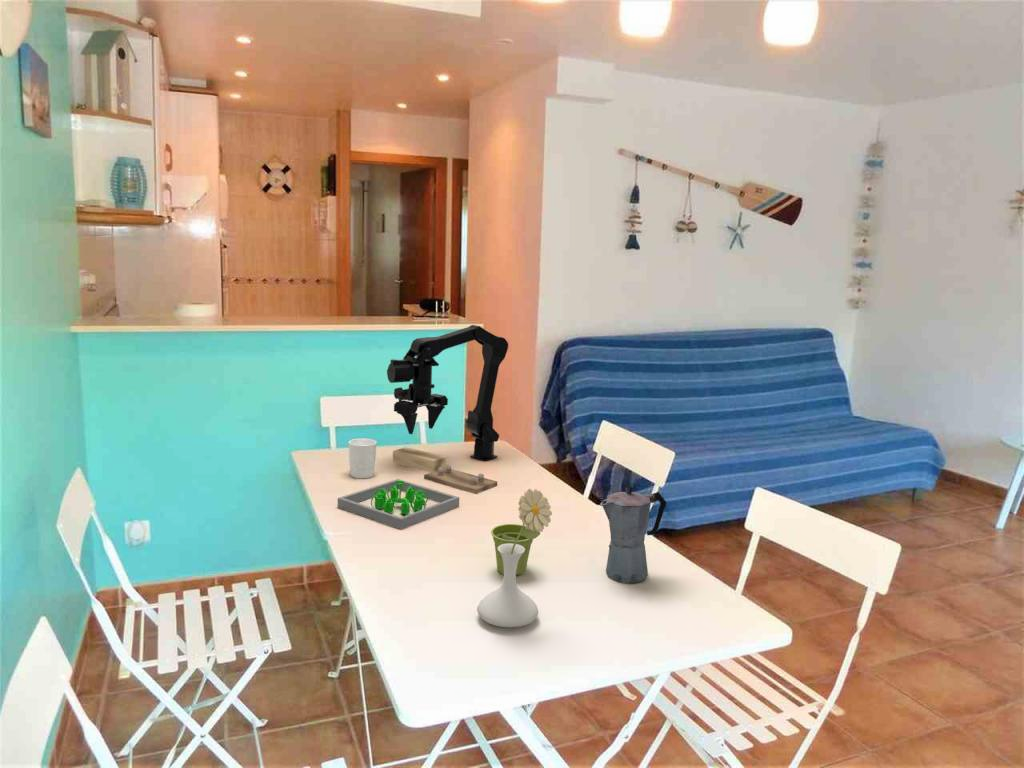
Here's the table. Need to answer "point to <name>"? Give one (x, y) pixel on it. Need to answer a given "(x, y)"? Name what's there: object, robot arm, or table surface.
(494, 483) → the peg stand
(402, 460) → the beige wooden block
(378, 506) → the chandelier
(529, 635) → the table surface
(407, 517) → the toy tray rim
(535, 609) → the flower in vase
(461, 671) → the table surface
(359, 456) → the white cup
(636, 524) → the moka pot
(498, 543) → the plant pot
